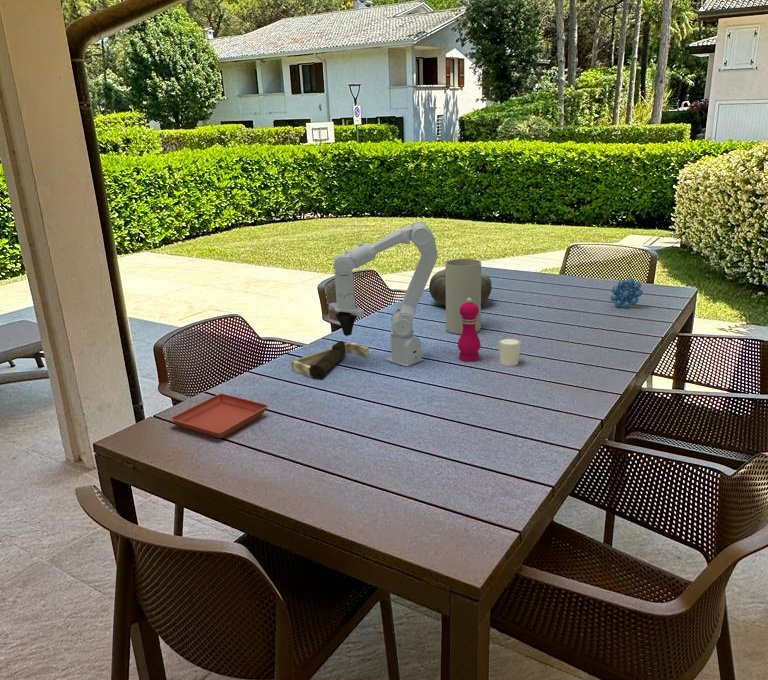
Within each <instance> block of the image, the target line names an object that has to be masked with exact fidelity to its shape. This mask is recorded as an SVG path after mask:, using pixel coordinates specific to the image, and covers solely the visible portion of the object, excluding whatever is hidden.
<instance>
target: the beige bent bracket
mask: <svg viewBox="0 0 768 680" xmlns="http://www.w3.org/2000/svg"><path fill="white" fill-rule="evenodd" d="M344 344H345V355H346V354H348V353H352V354H355V355H358V356H361V357H365V358H368V357H370V351H369V347H368V346H364V345H361V344H358V343H355V342H352V341H349V342H346V343H344ZM331 350H332V347H330V348H327V349H325V350H321V351H318V352H317V351H316V352H314V353H311V354H308V355H305V356H302V357H299V358H296V359H294V360H291V361H290V362H291V363H290V364H291V370H292V371H294V372H297V373H298V374H301V375H304V376H306V377H309V378H312V376H311V375H310V366H311V365H314V364H316V363H317V362H318V361H319V360H321V359H322V358H323V357H324V356H326V355H327V354H328V353H329V352H330V351H331Z"/></svg>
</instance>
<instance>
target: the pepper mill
mask: <svg viewBox="0 0 768 680" xmlns="http://www.w3.org/2000/svg"><path fill="white" fill-rule="evenodd" d="M466 302H467V303H464V304H462V305H461V307H460V315H461V316H462V318H461V320H462V321H461V322H462V323H463V331H462V334H460V336H459V338H458V342H457V348H458V350H459V351H460V352H459V357H458V358H459V360H460V361H463V362H469V363H470V362H471V363H472V362H476V361H478V360H479V359H480V353H479V350H480V349H481V341H480V338H479V336H478V333H477V332H476V323H477V317H476V316H477V315H478V313H479V308H478V306H477V305H476V304H475V303H472V299H471V298H467V300H466Z"/></svg>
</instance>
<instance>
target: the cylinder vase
mask: <svg viewBox="0 0 768 680" xmlns="http://www.w3.org/2000/svg"><path fill="white" fill-rule="evenodd" d="M445 269H446V306H445V329H446V330H447V332H448V333H451V334H455V335H461V334H462V331H463V323H462V322H461V321H462V320H461V318H462V316H461V315H460V307H461V305H462V304H464V303H467V302H466V300H467V298H471V299H472V303H475V304H476V305H477V306H478V308H479V313H478V315H477V316H476V317H477V323H476V333H477V332H480V330H481V323H482V321H481V320H482V317H481V316H482V314H481V313H482V311H481V310H482V304H481V273H482V260H479V259H474V258H455V259H450V260H449V259H448V260H446V261H445Z"/></svg>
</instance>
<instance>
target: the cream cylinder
mask: <svg viewBox="0 0 768 680" xmlns="http://www.w3.org/2000/svg"><path fill="white" fill-rule="evenodd" d="M521 343H522V342H521V340H520V339H516V338H503V339H499V340H498V353H499V354H498V355H499V364H501V365H503V366H506V367H514V366H518V364H519V361H520V360H519V359H520V352H521Z"/></svg>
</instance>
